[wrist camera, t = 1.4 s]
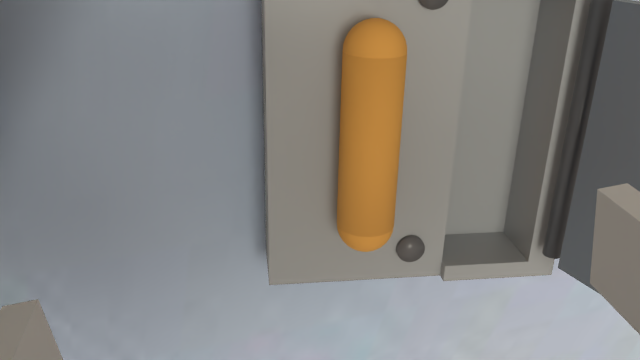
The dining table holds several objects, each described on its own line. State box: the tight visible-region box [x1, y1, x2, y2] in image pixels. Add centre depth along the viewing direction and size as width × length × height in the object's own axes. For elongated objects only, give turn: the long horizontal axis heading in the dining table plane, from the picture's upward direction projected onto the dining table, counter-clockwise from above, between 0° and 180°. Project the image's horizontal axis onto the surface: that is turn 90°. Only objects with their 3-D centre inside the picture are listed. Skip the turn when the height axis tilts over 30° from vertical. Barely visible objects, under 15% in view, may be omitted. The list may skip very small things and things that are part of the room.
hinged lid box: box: [261, 0, 591, 285], centre depth 33 cm, size 17×18×4 cm
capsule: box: [337, 18, 407, 252], centre depth 30 cm, size 3×12×3 cm, turn 179°
